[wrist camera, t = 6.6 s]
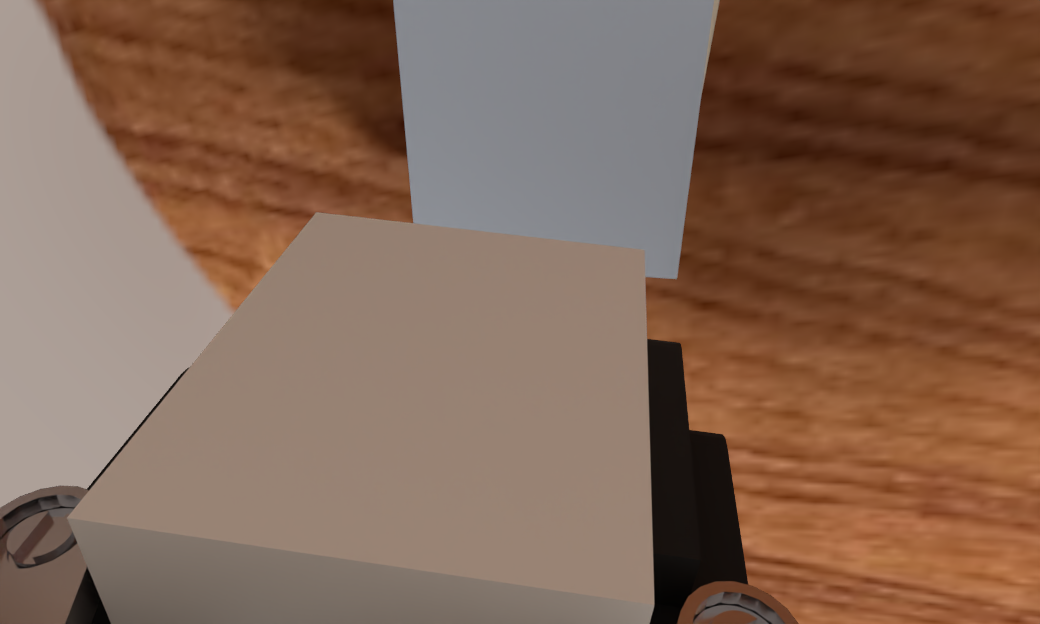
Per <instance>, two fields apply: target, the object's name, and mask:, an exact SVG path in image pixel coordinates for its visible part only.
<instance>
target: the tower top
mask: <svg viewBox="0 0 1040 624" xmlns="http://www.w3.org/2000/svg"><path fill="white" fill-rule="evenodd" d="M393 3H394V14H395V25H396V36H397V47H398V58H399V69H400V80H401V91H402V102H403V113H404V124H405V135H406V146H407V157H408V168H409V179H410V190H411V201H412V212H413V223H414V224H423V225H432V226H441V227H449V228H458V229H467V230H476V231H484V232H493V233H502V234H511V235H519V236H528V237H537V238H546V239H554V240H563V241H572V242H581V243H589V244H598V245H607V246H616V247H624V248H633V249H642V250H645V277H654V278H669V279H677V275H678V267H679V259H680V252H681V244H682V237H683V229H684V222H685V214H686V207H687V199H688V192H689V184H690V177H691V169H692V162H693V154H694V147H695V139H696V132H697V124H698V116H699V109H700V101H701V94H702V86H703V79H704V71H705V64H706V56H707V49H708V41H709V34H710V26H711V19H712V11H713V4H714V0H393Z"/></svg>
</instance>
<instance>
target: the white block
mask: <svg viewBox="0 0 1040 624" xmlns="http://www.w3.org/2000/svg"><path fill="white" fill-rule="evenodd" d="M67 519H68V522H69V524H70V526H71V529H72V531H73V534H74V536H75V538H76V541H77V543H78V545H79V548H80V550H81V553H82V555H83V557H84V560H85V562H86V565H87V567H88V569H89V572H90V574H91V577H92V579H93V581H94V584H95V586H96V589H97V591H98V593H99V596H100V598H101V601H102V603H103V605H104V608H105V610H106V613H107V615H108V617H109V620H110V622H111V624H650V620H651V616H652V613H653V609H654V570H653V534H652V499H651V463H650V427H649V392H648V356H647V321H646V285H645V250H642V249H633V248H624V247H616V246H607V245H598V244H589V243H581V242H572V241H563V240H554V239H546V238H537V237H528V236H519V235H511V234H502V233H493V232H484V231H476V230H467V229H458V228H449V227H441V226H432V225H423V224H414V223H406V222H397V221H388V220H379V219H371V218H362V217H353V216H344V215H336V214H327V213H318V212H316V213H315V215H314V216H313V217H312V218H311V220H310V221H309V222H308V223H307V224H306V226H305V227H304V228H303V229H302V231H301V232H300V233H299V234H298V235H297V237H296V238H295V239H294V240H293V242H292V243H291V244H290V245H289V246H288V248H287V249H286V250H285V251H284V253H283V254H282V255H281V256H280V257H279V259H278V260H277V261H276V262H275V264H274V265H273V266H272V267H271V268H270V270H269V271H268V272H267V273H266V275H265V276H264V277H263V278H262V280H261V281H260V282H259V283H258V284H257V286H256V287H255V288H254V289H253V291H252V292H251V293H250V294H249V295H248V297H247V298H246V299H245V300H244V302H243V303H242V304H241V305H240V306H239V308H238V309H237V310H236V311H235V313H234V314H233V315H232V316H231V317H230V319H229V320H228V321H227V322H226V324H225V325H224V326H223V327H222V329H221V330H220V331H219V333H217V335H216V336H215V337H214V338H213V340H212V341H211V342H210V343H209V345H208V346H207V347H206V348H205V349H204V351H203V352H202V353H201V354H200V356H199V357H198V358H197V359H196V360H195V362H194V363H193V364H192V366H190V368H189V369H188V370H187V371H186V373H185V374H184V375H183V376H182V377H181V379H180V380H179V381H178V382H177V384H176V385H175V386H174V387H173V389H172V390H171V391H170V392H169V393H168V395H167V396H166V397H165V398H164V400H163V401H162V402H161V403H160V404H159V406H158V407H157V408H156V409H155V411H154V412H153V413H152V414H151V415H150V417H149V418H148V419H147V420H146V422H145V423H144V424H143V425H142V426H141V428H140V429H139V430H138V431H137V433H136V434H135V435H134V436H133V437H132V439H131V440H130V441H129V442H128V444H127V445H126V446H125V447H124V449H123V450H122V451H121V452H120V453H119V455H118V456H117V457H116V458H115V460H114V461H113V462H112V463H111V464H110V466H109V467H108V468H107V469H106V471H105V472H104V473H103V474H102V475H101V477H100V478H99V479H98V480H97V482H96V483H95V484H94V485H93V486H92V488H91V489H90V490H89V491H88V493H87V494H86V495H85V496H84V497H83V499H82V500H81V501H80V502H79V504H78V505H77V506H76V507H75V509H74V510H73V511H72V512H71V513H70V515H69V516H68V517H67Z"/></svg>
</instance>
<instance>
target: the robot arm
mask: <svg viewBox="0 0 1040 624" xmlns="http://www.w3.org/2000/svg"><path fill="white" fill-rule="evenodd" d="M647 356H648V392H649V427H650V463H651V499H652V534H653V570H654V609H653V613H652V616H651V620H650V624H798V622H797V621H796V620H795V618H794V617H793V616H792V614H791V613H790V612H789V610H788V609H787V608H786V607H785V606H783V605H782V604H781V603H780V602H779V601H777V600H776V599H775V598H774V597H772V596H771V595H769V594H768V593H766V592H764V591H762V590H760V589H758V588H756V587H754V586H751V585H748V581H747V574H746V568H745V561H744V554H743V548H742V541H741V535H740V528H739V521H738V515H737V508H736V502H735V495H734V488H733V482H732V475H731V468H730V462H729V455H728V449H727V444H726V439H725V437H724V436H723V434H715V433H707V432H700V431H692V430H689V423H688V412H687V402H686V391H685V380H684V369H683V358H682V348H681V344H680V343H676V342H667V341H659V340H651V339H647ZM189 368H190V367H189ZM189 368H187V369H186V370H185V371H184V372H183V373H182V374H181V375H180V376H179V377H178V379H177V380H176V381H175V382H174V384H173V385H172V386H171V387H170V388H169V390H168V391H167V392H166V393H165V395H164V396H163V397H162V398H161V399H160V401H159V402H158V403H157V404H156V406H155V407H154V408H153V409H152V410H151V412H150V413H149V414H148V415H147V416H146V418H145V419H144V420H143V422H142V423H141V424H140V425H139V426H138V427H137V429H136V430H135V431H134V432H133V434H132V435H131V436H130V437H129V439H128V440H127V441H126V442H125V443H124V445H123V446H122V447H121V448H120V449H119V451H118V452H117V453H116V454H115V456H114V457H113V458H112V459H111V460H110V462H109V463H108V464H107V465H106V467H105V468H104V469H103V470H102V471H101V473H100V474H99V475H98V476H97V478H96V479H95V480H94V481H93V482H92V484H91V485H90V486H89V487H88V488H87V489H84V488H81V487H78V486H56V487H50V488H44V489H39V490H37V491H34V492H31V493H28V494H25V495H23V496H20V497H18V498H16V499H15V500H13V501H11V502H10V503H8V504H6V505H4V506H2V507H1V508H0V624H111V622H110V620H109V617H108V615H107V613H106V610H105V608H104V605H103V603H102V601H101V598H100V596H99V593H98V591H97V589H96V586H95V584H94V581H93V579H92V577H91V574H90V572H89V569H88V567H87V565H86V562H85V560H84V557H83V555H82V553H81V550H80V548H79V545H78V543H77V541H76V538H75V536H74V534H73V531H72V529H71V526H70V524H69V522H68V519H67V517H68V516H69V515H70V513H71V512H72V511H73V510H74V509H75V507H76V506H77V505H78V504H79V502H80V501H81V500H82V499H83V497H84V496H85V495H86V494H87V493H88V491H89V490H90V489H91V488H92V486H93V485H94V484H95V483H96V482H97V480H98V479H99V478H100V477H101V475H102V474H103V473H104V472H105V471H106V469H107V468H108V467H109V466H110V464H111V463H112V462H113V461H114V460H115V458H116V457H117V456H118V455H119V453H120V452H121V451H122V450H123V449H124V447H125V446H126V445H127V444H128V442H129V441H130V440H131V439H132V437H133V436H134V435H135V434H136V433H137V431H138V430H139V429H140V428H141V426H142V425H143V424H144V423H145V422H146V420H147V419H148V418H149V417H150V415H151V414H152V413H153V412H154V411H155V409H156V408H157V407H158V406H159V404H160V403H161V402H162V401H163V400H164V398H165V397H166V396H167V395H168V393H169V392H170V391H171V390H172V389H173V387H174V386H175V385H176V384H177V382H178V381H179V380H180V379H181V377H182V376H183V375H184V374H185V373H186V371H187V370H188V369H189Z"/></svg>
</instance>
